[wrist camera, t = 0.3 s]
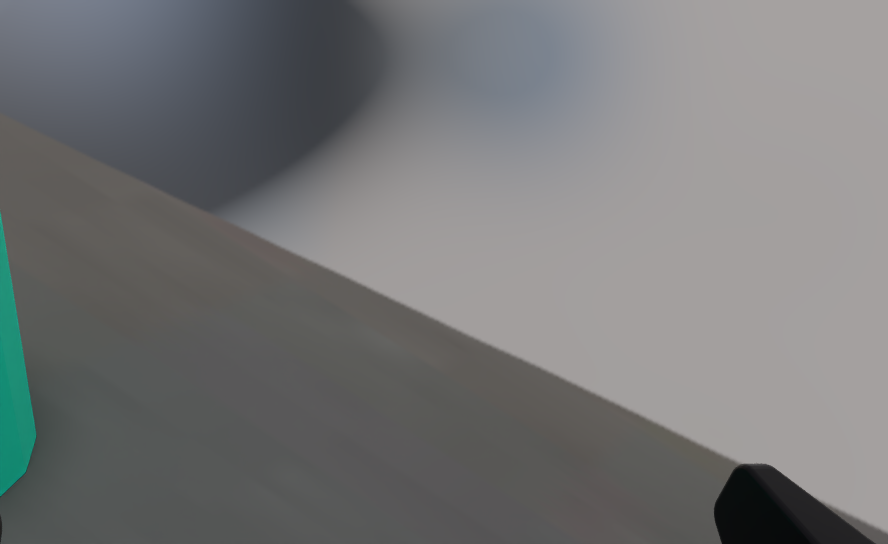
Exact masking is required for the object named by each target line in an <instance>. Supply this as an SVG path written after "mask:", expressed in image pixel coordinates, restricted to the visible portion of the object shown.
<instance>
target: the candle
mask: <svg viewBox="0 0 888 544" xmlns="http://www.w3.org/2000/svg"><path fill="white" fill-rule="evenodd" d="M35 440H36V430H35V423H34V417H33V411H32V405H31V399H30V393H29V386H28V380H27V374H26V368H25V362H24V355H23V349H22V343H21V337H20V331H19V324H18V318H17V312H16V306H15V300H14V293H13V287H12V281H11V275H10V269H9V263H8V256H7V250H6V244H5V238H4V232H3V225H2V219H1V213H0V496H1V495H3V494H4V493H5V492H6V491H7V490H8V489H9V488H10V487H11V486H12V485H13V484H14V483H15V482H16V481H17V480H18V479H19V478H20V477H21V476H23V475H24V474H25V473H26V470H27V467H28V463H29V460H30V457H31V453H32V450H33V447H34V443H35Z"/></svg>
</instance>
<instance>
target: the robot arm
mask: <svg viewBox="0 0 888 544" xmlns="http://www.w3.org/2000/svg"><path fill="white" fill-rule="evenodd" d="M714 518H715V523H716V526H717V529H718V533H719V536H720V539H721V542H722V544H875V543H874V542H873V541H871V540H870V539H869V538H867V537H866V536H865V535H863V534H862V533H861V532H859V531H858V530H857V529H855V528H854V527H853V526H851V525H850V524H849V523H847V522H846V521H845V520H843V519H842V518H841V517H839V516H838V515H837V514H835V513H834V512H833V511H831V510H830V509H829V508H827V507H826V506H825V505H823V504H822V503H821V502H819V501H818V500H817V499H815V498H814V497H813V496H811V495H810V494H809V493H807V492H806V491H805V490H803V489H802V488H801V487H799V486H798V485H797V484H795V483H794V482H792V481H791V480H790V479H789V478H787V477H786V476H784V475H783V474H782V473H781V472H779V471H778V470H777V469H775V468H774V467H772V466H770V465H767V464H740V465H739V466H737V467H736V468H735V469H734V470H733V472H732V474H731V475H730V477H729V479H728V481H727V482H726V484H725V486H724V488H723V490H722V491H721V493H720V495H719V497H718V498H717V500H716V503H715V507H714ZM1 535H2V521H1V516H0V542H1Z"/></svg>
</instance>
